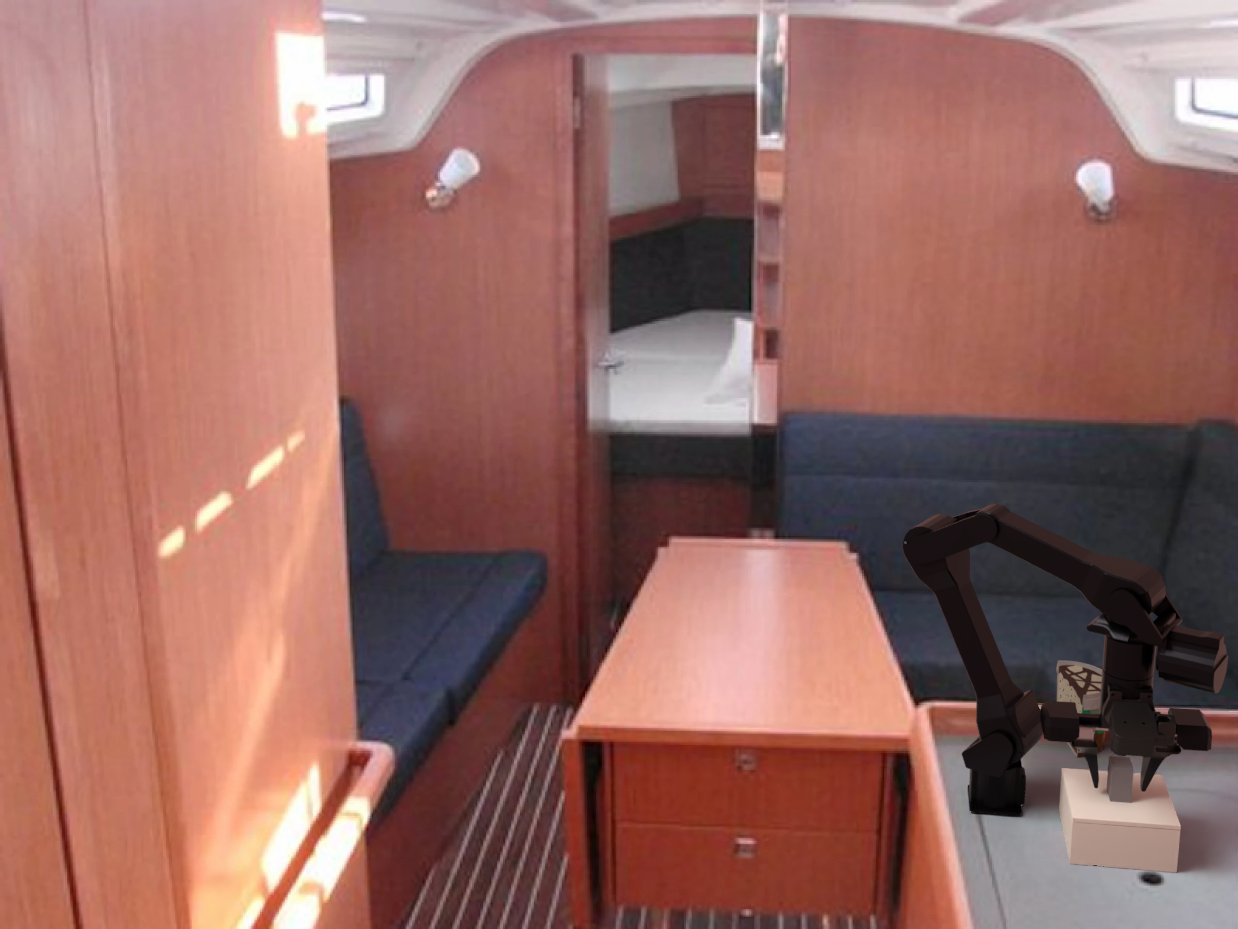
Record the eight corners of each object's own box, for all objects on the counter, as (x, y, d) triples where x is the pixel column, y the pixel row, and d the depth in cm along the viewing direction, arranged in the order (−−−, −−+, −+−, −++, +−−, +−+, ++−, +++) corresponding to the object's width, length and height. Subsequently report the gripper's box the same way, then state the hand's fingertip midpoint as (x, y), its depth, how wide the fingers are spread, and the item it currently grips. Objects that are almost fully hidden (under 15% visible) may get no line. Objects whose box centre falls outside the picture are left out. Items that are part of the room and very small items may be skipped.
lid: (1072, 821, 155) (1075, 784, 153) (1061, 771, 166) (1063, 736, 164) (1180, 830, 152) (1183, 791, 151) (1161, 778, 163) (1164, 742, 162)
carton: (1069, 863, 156) (1072, 822, 155) (1059, 811, 167) (1061, 772, 166) (1176, 872, 154) (1180, 830, 152) (1158, 818, 165) (1161, 779, 163)
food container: (1125, 761, 179) (1130, 695, 176) (1080, 763, 179) (1084, 696, 176) (1095, 720, 191) (1099, 657, 188) (1052, 721, 191) (1056, 658, 188)
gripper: (1052, 696, 149) (1045, 817, 153) (1228, 706, 145) (1216, 830, 149) (1043, 656, 159) (1036, 770, 163) (1206, 664, 155) (1195, 781, 159)
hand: (1119, 788), depth 159 cm, fingers open, 5 cm apart
